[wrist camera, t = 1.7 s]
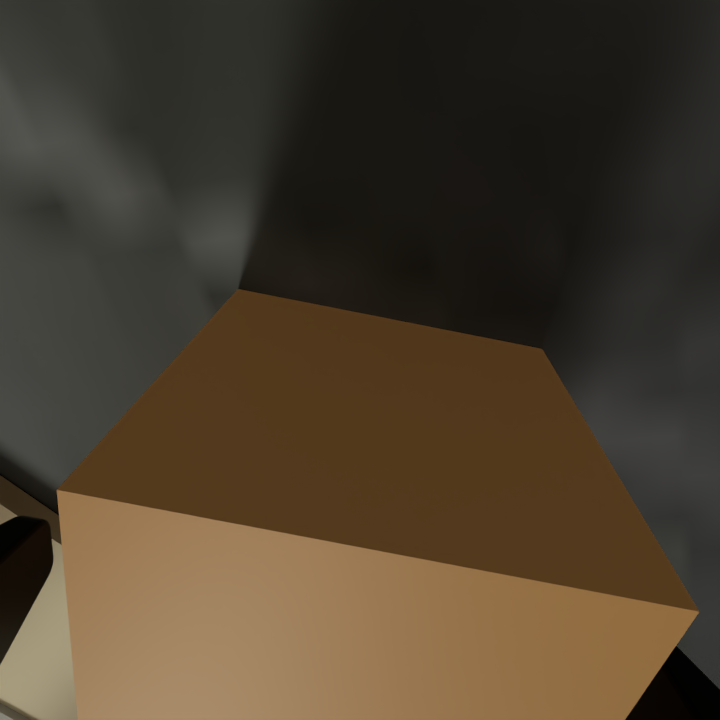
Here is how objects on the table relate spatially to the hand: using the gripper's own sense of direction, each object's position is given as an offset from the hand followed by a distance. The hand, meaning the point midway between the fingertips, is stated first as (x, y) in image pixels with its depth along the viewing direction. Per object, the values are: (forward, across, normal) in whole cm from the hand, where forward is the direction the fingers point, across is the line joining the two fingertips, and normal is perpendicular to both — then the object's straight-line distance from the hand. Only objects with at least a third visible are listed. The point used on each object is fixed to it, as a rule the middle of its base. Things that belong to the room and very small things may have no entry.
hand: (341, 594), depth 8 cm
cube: (+4, 0, 0) cm, 4 cm away
